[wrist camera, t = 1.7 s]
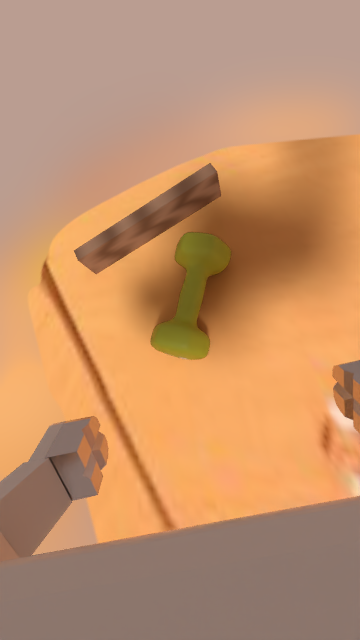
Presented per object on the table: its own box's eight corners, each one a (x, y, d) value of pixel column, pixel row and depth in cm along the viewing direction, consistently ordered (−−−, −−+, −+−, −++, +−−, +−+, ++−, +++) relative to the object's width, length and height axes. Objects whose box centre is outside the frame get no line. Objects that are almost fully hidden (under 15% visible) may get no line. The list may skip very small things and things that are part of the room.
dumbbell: (185, 251, 43) (172, 224, 36) (236, 257, 41) (232, 229, 34) (156, 353, 40) (136, 344, 33) (209, 367, 37) (199, 360, 31)
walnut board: (215, 187, 45) (210, 162, 40) (221, 195, 44) (217, 171, 39) (92, 265, 47) (73, 250, 42) (96, 274, 46) (78, 260, 41)
